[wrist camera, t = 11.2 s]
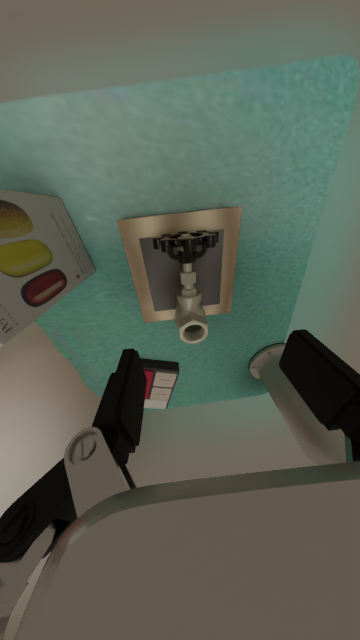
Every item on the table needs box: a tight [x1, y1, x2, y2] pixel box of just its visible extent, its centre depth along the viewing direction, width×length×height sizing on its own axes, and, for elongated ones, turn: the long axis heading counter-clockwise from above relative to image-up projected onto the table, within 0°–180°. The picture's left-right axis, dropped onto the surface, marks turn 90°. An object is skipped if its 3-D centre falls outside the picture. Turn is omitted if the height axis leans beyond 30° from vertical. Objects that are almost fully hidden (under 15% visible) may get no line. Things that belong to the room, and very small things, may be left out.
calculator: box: [140, 359, 179, 409], centre depth 39 cm, size 11×4×15 cm
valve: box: [152, 230, 219, 344], centre depth 19 cm, size 7×7×12 cm
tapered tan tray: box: [117, 206, 242, 323], centre depth 23 cm, size 14×14×4 cm
